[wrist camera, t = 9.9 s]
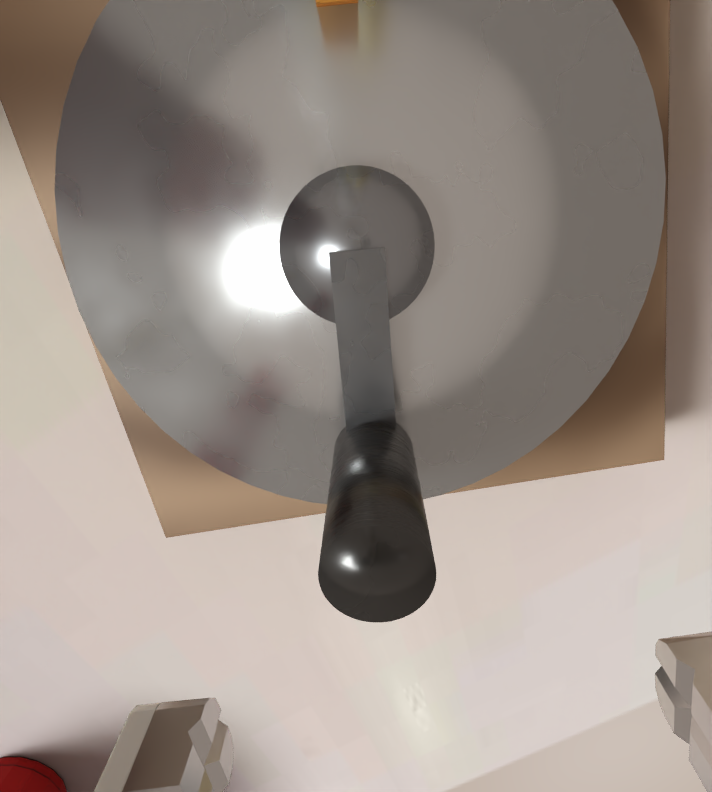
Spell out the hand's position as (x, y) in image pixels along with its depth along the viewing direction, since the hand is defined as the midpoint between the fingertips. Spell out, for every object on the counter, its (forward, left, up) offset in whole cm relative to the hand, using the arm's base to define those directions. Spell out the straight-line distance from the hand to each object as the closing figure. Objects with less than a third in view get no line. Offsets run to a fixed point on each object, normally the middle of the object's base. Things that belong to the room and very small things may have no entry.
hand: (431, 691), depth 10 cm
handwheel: (-7, 0, -13) cm, 15 cm away
